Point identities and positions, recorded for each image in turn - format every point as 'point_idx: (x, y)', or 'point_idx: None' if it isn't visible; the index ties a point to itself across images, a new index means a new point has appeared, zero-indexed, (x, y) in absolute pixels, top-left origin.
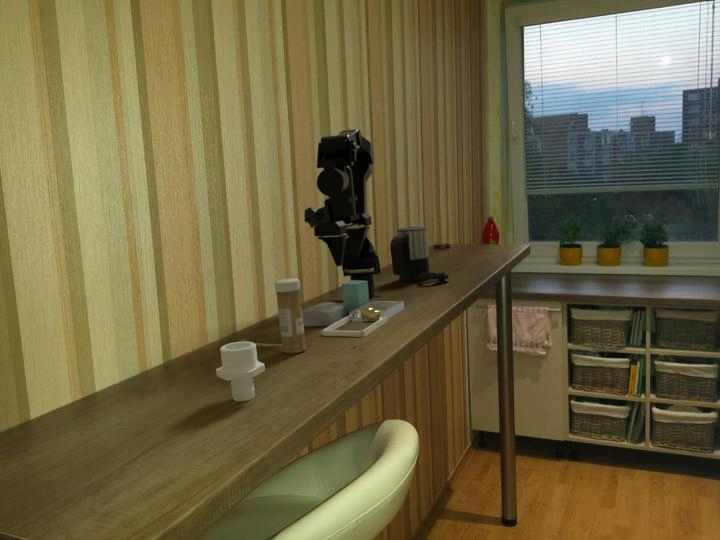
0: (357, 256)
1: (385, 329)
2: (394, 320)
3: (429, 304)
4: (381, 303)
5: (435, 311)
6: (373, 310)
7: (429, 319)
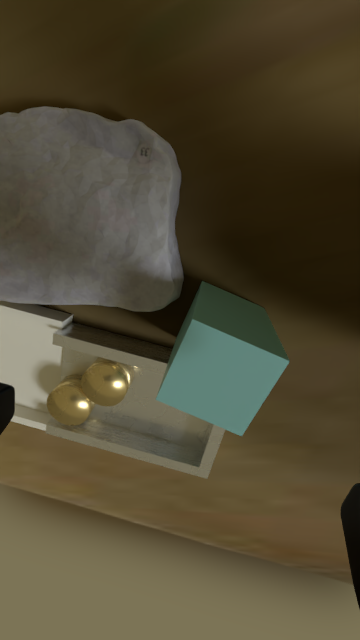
0: (346, 531)
1: None
2: None
3: (270, 511)
4: None
5: (178, 517)
6: (73, 406)
7: (97, 501)
